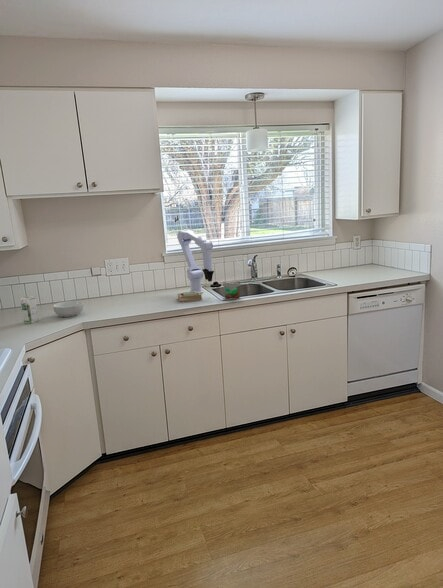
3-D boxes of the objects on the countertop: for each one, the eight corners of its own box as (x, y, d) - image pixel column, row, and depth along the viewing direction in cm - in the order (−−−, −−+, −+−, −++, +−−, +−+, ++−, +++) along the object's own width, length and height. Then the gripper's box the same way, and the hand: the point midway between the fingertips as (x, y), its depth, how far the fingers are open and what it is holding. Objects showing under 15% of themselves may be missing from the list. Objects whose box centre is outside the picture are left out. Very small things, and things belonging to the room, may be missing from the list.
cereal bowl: (84, 317, 230) (82, 305, 229) (53, 320, 226) (51, 308, 224) (85, 310, 246) (83, 299, 245) (56, 313, 242) (54, 302, 240)
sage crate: (183, 298, 262) (183, 292, 261) (195, 297, 263) (195, 291, 263) (184, 300, 257) (184, 293, 256) (197, 298, 259) (196, 292, 258)
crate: (178, 298, 263) (177, 293, 263) (198, 296, 267) (198, 291, 266) (180, 302, 254) (180, 296, 253) (201, 299, 257) (201, 294, 256)
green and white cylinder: (23, 323, 224) (19, 298, 221) (32, 320, 229) (28, 295, 226) (30, 324, 222) (26, 298, 219) (39, 321, 227) (35, 296, 224)
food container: (220, 298, 258) (219, 283, 256) (224, 296, 263) (223, 281, 261) (237, 299, 252) (236, 284, 250) (241, 297, 257) (240, 282, 255)
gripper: (199, 259, 268) (200, 279, 271) (203, 261, 254) (205, 282, 257) (209, 258, 270) (210, 278, 272) (214, 260, 256) (215, 281, 259)
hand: (208, 280), depth 265 cm, fingers open, 7 cm apart
